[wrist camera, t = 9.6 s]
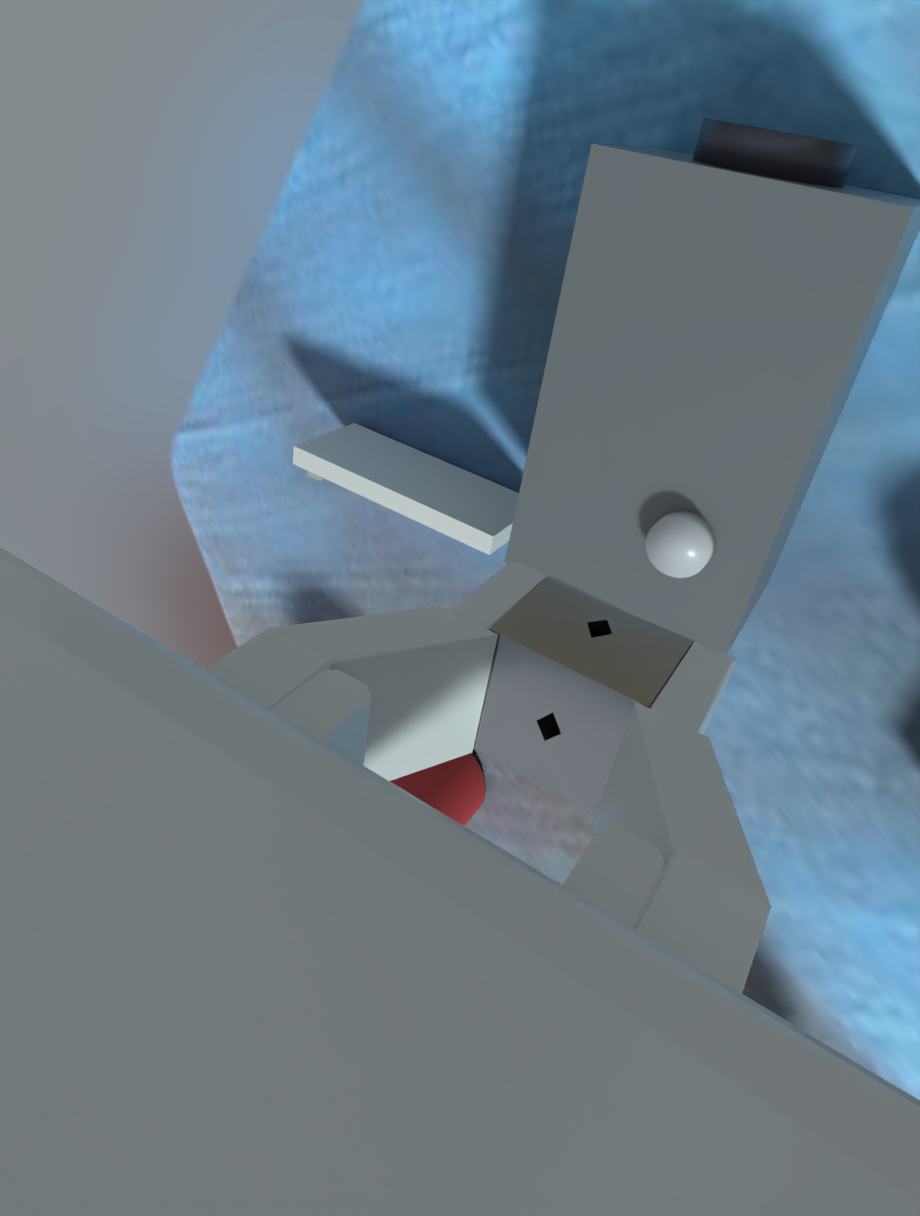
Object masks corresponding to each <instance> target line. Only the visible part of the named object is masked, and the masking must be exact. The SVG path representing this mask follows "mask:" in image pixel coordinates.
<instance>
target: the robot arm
mask: <svg viewBox="0 0 920 1216" xmlns="http://www.w3.org/2000/svg"><path fill="white" fill-rule="evenodd" d="M735 663H736V657H734V656H732V655H729V654H727V653H724V652H722V651H719V650H717V649H714V648H712V647H709V646H707V645H704V644H702V643H699V642H694V640H691V639H689V638H687V637H684V636H682V635H679V634H677V633H675V632H672V631H670V630H667V629H665V628H663V627H660V626H658V625H655V624H653V623H651V622H648V621H646V620H643V619H641V618H639V617H636V616H634V615H632V614H629V613H627V612H624V611H622V610H621V608H618V607H616V606H614V605H612V604H610V603H608V602H606V601H604V600H601V599H599V598H597V597H595V596H593V595H591V594H589V593H587V592H584V591H582V590H580V589H578V588H576V587H574V586H572V585H570V584H567V583H565V582H563V581H561V580H559V579H557V578H555V577H553V576H552V577H550V576H549V574H547V573H544V572H542V571H540V570H538V569H535V568H533V567H531V566H528V565H526V564H524V563H521V562H519V561H512V562H510V563H508V564H507V565H506V566H505V567H503V568H502V569H501V570H500V571H498V572H497V573H496V574H495V575H494V576H492V577H491V578H490V579H489V580H487V581H486V582H485V583H484V584H482V585H481V586H480V587H479V588H478V589H476V590H475V591H474V592H473V593H471V594H470V595H469V596H468V597H466V598H465V599H464V600H463V601H461V602H460V603H459V604H458V605H457V606H455V607H454V608H453V609H452V610H450V611H449V610H447V609H445V608H443V607H441V606H439V607H431V608H423V609H415V610H407V611H399V612H391V613H383V614H375V615H367V616H359V617H351V618H343V619H335V620H327V621H319V622H311V623H303V624H295V625H287V626H279V627H271V628H268V629H266V630H265V631H263V632H262V633H260V634H259V635H257V636H256V637H254V638H252V639H251V640H249V641H248V642H246V643H245V644H243V645H241V646H240V647H238V648H237V649H235V650H234V651H232V652H231V653H229V654H227V655H226V656H224V657H223V658H221V659H220V660H218V661H217V662H215V663H213V664H212V665H210V666H209V667H207V668H206V669H202V668H200V667H199V666H197V665H195V664H194V663H192V662H190V661H188V660H187V659H185V658H184V657H182V656H180V655H179V654H177V653H175V652H174V651H172V650H170V649H169V648H167V647H165V646H164V645H162V644H160V643H159V642H157V641H155V640H154V639H152V638H151V637H149V636H147V635H145V634H144V633H142V632H140V631H139V630H137V629H136V628H134V627H132V626H130V625H129V624H127V623H126V622H124V621H122V620H121V619H119V618H117V617H116V616H114V615H112V614H111V613H109V612H107V611H106V610H104V609H102V608H101V607H99V606H97V605H96V604H94V603H92V602H91V601H89V600H87V599H86V598H84V597H82V596H81V595H79V594H77V593H76V592H74V591H72V590H71V589H69V588H67V587H66V586H64V585H63V584H61V583H59V582H58V581H56V580H54V579H53V578H51V577H49V576H48V575H46V574H44V573H43V572H41V571H39V570H38V569H36V568H34V567H33V566H31V565H29V564H28V563H26V562H24V561H23V560H21V559H19V558H18V557H16V556H15V555H13V554H11V553H10V552H8V551H6V550H4V549H3V548H1V547H0V1216H920V1100H918V1099H916V1098H915V1097H913V1096H911V1095H910V1094H908V1093H906V1092H905V1091H903V1090H901V1089H900V1088H898V1087H896V1086H895V1085H893V1084H891V1083H890V1082H888V1081H886V1080H885V1079H883V1078H881V1077H880V1076H878V1075H876V1074H875V1073H873V1072H871V1071H870V1070H868V1069H866V1068H865V1067H863V1066H861V1065H859V1064H858V1063H856V1062H854V1061H853V1060H851V1059H849V1058H848V1057H846V1056H844V1055H843V1054H841V1053H839V1052H838V1051H836V1050H834V1049H833V1048H831V1047H829V1046H828V1045H826V1044H824V1043H823V1042H821V1041H819V1040H818V1039H816V1038H814V1037H813V1036H811V1035H809V1034H808V1033H806V1032H804V1031H803V1030H801V1029H799V1028H798V1027H796V1026H794V1025H793V1024H791V1023H790V1022H788V1021H786V1020H785V1019H783V1018H781V1017H780V1016H778V1015H776V1014H775V1013H773V1012H771V1011H770V1010H768V1009H766V1008H765V1007H763V1006H761V1005H760V1004H758V1003H756V1002H755V1001H753V1000H751V999H750V998H748V997H746V996H745V995H743V994H742V992H743V989H744V986H745V983H746V980H747V977H748V974H749V971H750V968H751V965H752V962H753V959H754V956H755V953H756V950H757V947H758V944H759V941H760V938H761V935H762V932H763V929H764V926H765V923H766V920H767V917H768V914H769V911H770V908H771V906H770V903H769V900H768V898H767V895H766V892H765V890H764V887H763V884H762V881H761V879H760V876H759V873H758V871H757V868H756V865H755V862H754V860H753V857H752V854H751V852H750V849H749V846H748V843H747V841H746V838H745V835H744V833H743V830H742V827H741V824H740V822H739V819H738V816H737V814H736V811H735V808H734V805H733V803H732V800H731V797H730V795H729V792H728V789H727V787H726V784H725V781H724V778H723V776H722V773H721V770H720V768H719V765H718V762H717V759H716V757H715V754H714V751H713V749H712V746H711V743H710V740H709V738H708V737H707V736H705V735H703V734H704V732H705V730H706V728H707V726H708V723H709V721H710V719H711V717H712V715H713V712H714V710H715V708H716V706H717V704H718V701H719V699H720V697H721V695H722V693H723V690H724V688H725V686H726V684H727V682H728V679H729V677H730V675H731V673H732V670H733V668H734V665H735ZM473 749H474V750H476V751H478V752H480V753H482V754H484V755H486V756H488V757H490V758H492V759H493V760H495V761H497V762H499V763H501V764H503V765H505V766H507V767H509V768H511V769H513V770H514V771H516V772H518V773H520V774H522V775H524V776H526V777H528V778H530V779H532V780H534V781H535V782H537V783H539V784H540V785H542V786H544V787H545V788H547V789H549V790H550V791H552V792H554V793H555V794H557V795H559V796H561V797H562V798H564V799H566V800H567V801H569V802H571V803H572V804H574V805H576V806H578V807H579V808H581V809H583V810H584V811H586V812H588V813H589V814H591V815H593V816H594V818H593V824H594V835H595V836H594V838H593V839H592V841H591V842H590V844H589V845H588V847H587V848H586V850H585V852H584V853H583V855H582V856H581V858H580V859H579V861H578V862H577V864H576V865H575V867H574V868H573V870H572V872H571V873H570V875H569V876H568V878H567V879H566V881H565V882H564V884H563V885H561V884H559V883H558V882H556V881H554V880H553V879H551V878H549V877H548V876H546V875H544V874H543V873H541V872H539V871H538V870H536V869H535V868H533V867H531V866H530V865H528V864H526V863H525V862H523V861H521V860H520V859H518V858H516V857H515V856H513V855H511V854H510V853H508V852H506V851H505V850H503V849H501V848H500V847H498V846H496V845H495V844H493V843H491V842H490V841H488V840H486V839H485V838H483V837H481V836H480V835H478V834H476V833H475V832H473V831H471V830H470V829H468V828H466V827H465V826H463V825H461V824H460V823H458V822H456V821H455V820H453V819H451V818H450V817H448V816H446V815H445V814H443V813H441V812H440V811H438V810H436V809H435V808H433V807H431V806H430V805H428V804H426V803H425V802H423V801H421V800H420V799H418V798H416V797H415V796H413V795H411V794H410V793H408V792H406V791H405V790H403V789H401V788H400V787H398V786H396V785H395V784H393V783H391V782H390V781H391V780H394V779H397V778H400V777H403V776H406V775H409V774H412V773H414V772H417V771H420V770H423V769H426V768H429V767H432V766H435V765H438V764H440V763H443V762H446V761H449V760H452V759H455V758H458V757H461V756H464V755H466V754H469V753H472V752H473Z"/></svg>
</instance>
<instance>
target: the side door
mask: <svg viewBox="0 0 920 1216" xmlns="http://www.w3.org/2000/svg"><path fill="white" fill-rule="evenodd" d="M293 464H294V465H297V466H299V467H301V468H303V469H305V470H307V471H308V475H307V476H309V477H312V478H314V479H316V480H318V481H321V480H323V479H327V480H329V481H331V482H333V483H335V484H338V485H340V486H342V487H344V488H346V489H348V490H350V491H353V492H355V493H357V494H359V495H361V496H363V497H366V498H368V499H370V500H372V501H374V502H376V503H378V504H381V505H383V506H385V507H387V508H389V509H391V510H394V511H396V512H398V513H400V514H402V515H404V516H406V517H409V518H411V519H413V520H415V521H417V522H419V523H422V524H424V525H426V526H428V527H430V528H432V529H434V530H437V531H439V532H441V533H443V534H445V535H447V536H450V537H452V538H454V539H456V540H458V541H460V542H462V543H465V544H467V545H469V546H471V547H473V548H475V549H478V550H480V551H482V552H484V553H486V554H488V555H490V554H491V553H493V552H494V551H495V550H497V549H498V548H499V547H501V546H502V545H503V544H505V543H506V542H508V541H509V539H510V534H511V529H512V524H513V520H514V515H515V510H516V505H517V500H518V495H519V493H518V492H515V491H513V490H511V489H508V488H506V487H503V486H501V485H499V484H496V483H494V482H492V481H489V480H487V479H485V478H482V477H480V476H478V475H475V474H473V473H471V472H468V471H466V470H464V469H461V468H459V467H457V466H454V465H452V464H449V463H447V462H445V461H442V460H440V459H438V458H435V457H433V456H431V455H428V454H426V453H424V452H421V451H419V450H417V449H414V448H412V447H410V446H407V445H405V444H402V443H400V442H398V441H395V440H393V439H391V438H388V437H386V436H384V435H381V434H379V433H377V432H374V431H372V430H370V429H367V428H365V427H363V426H360V425H358V424H356V423H353V424H350V425H347V426H345V427H342V428H340V429H337V430H334V431H332V432H329V433H327V434H324V435H321V436H319V437H316V438H314V439H311V440H308V441H306V442H303V443H301V444H298V445H295V446H294V454H293Z"/></svg>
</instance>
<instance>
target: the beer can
mask: <svg viewBox="0 0 920 1216" xmlns="http://www.w3.org/2000/svg"><path fill="white" fill-rule="evenodd" d="M390 782H391V783H393V784H395V785H396V786H398V787H400V788H401V789H403V790H405V791H406V792H408V793H410V794H411V795H413V796H415V797H416V798H418V799H420V800H421V801H423V802H425V803H426V804H428V805H430V806H431V807H433V808H435V809H436V810H438V811H440V812H441V813H443V814H445V815H446V816H448V817H450V818H451V819H453V820H455V821H456V822H458V823H460V824H461V825H463V826H465V824H466V823H467V822H468V821H469V820H470V818H471V817H472V816H473V815H474V814H475V812H476V811H477V810H478V809H479V807H480V806H481V804H482V803H483V801H484V797H485V791H486V784H485V779H484V774H483V771H482V769H481V767H480V765H479V763H478V761H477V759H476V758H475V757H474V756H473V754H472V753H469V754H466V755H464V756H461V757H458V758H455V759H452V760H449V761H446V762H443V763H440V764H438V765H435V766H432V767H429V768H426V769H423V770H420V771H417V772H414V773H412V774H409V775H406V776H403V777H400V778H397V779H394V780H391V781H390Z"/></svg>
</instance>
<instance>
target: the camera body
mask: <svg viewBox="0 0 920 1216" xmlns="http://www.w3.org/2000/svg"><path fill="white" fill-rule="evenodd" d="M858 147H859V146H857V145H851V144H845V143H840V142H834V141H829V140H823V139H817V138H812V137H806V136H800V135H795V134H789V133H783V132H778V131H772V130H766V129H761V128H755V127H749V126H744V125H738V124H732V123H727V122H721V121H715V120H709V119H703V123H702V127H701V130H700V134H699V138H698V142H697V145H696V149H695V153H694V155H692V154H687V153H682V152H677V151H672V150H667V149H662V148H648V147H634V146H620V145H607V144H593V143H591V148H590V153H589V157H588V162H587V167H586V172H585V177H584V182H583V186H582V191H581V196H580V201H579V206H578V211H577V215H576V220H575V225H574V230H573V235H572V239H571V244H570V249H569V254H568V259H567V264H566V268H565V273H564V278H563V283H562V288H561V293H560V297H559V302H558V307H557V312H556V317H555V322H554V326H553V331H552V336H551V341H550V346H549V351H548V355H547V360H546V365H545V370H544V375H543V380H542V384H541V389H540V394H539V399H538V404H537V409H536V413H535V418H534V423H533V428H532V433H531V438H530V442H529V447H528V452H527V457H526V462H525V467H524V471H523V476H522V481H521V486H520V491H519V495H518V500H517V505H516V510H515V515H514V520H513V524H512V529H511V534H510V539H509V544H508V549H507V553H506V558H505V562H507V563H510V562H512V561H519V562H521V563H524V564H526V565H528V566H531V567H533V568H535V569H538V570H540V571H542V572H544V573H547V574H549V576H550V577H552V576H553V577H555V578H557V579H559V580H561V581H563V582H565V583H567V584H570V585H572V586H574V587H576V588H578V589H580V590H582V591H584V592H587V593H589V594H591V595H593V596H595V597H597V598H599V599H601V600H604V601H606V602H608V603H610V604H612V605H614V606H616V607H618V608H621V610H622V611H624V612H627V613H629V614H632V615H634V616H636V617H639V618H641V619H643V620H646V621H648V622H651V623H653V624H655V625H658V626H660V627H663V628H665V629H667V630H670V631H672V632H675V633H677V634H679V635H682V636H684V637H687V638H689V639H691V640H694V642H699V643H702V644H704V645H707V646H709V647H712V648H714V649H717V650H719V651H722V652H724V653H728V651H729V649H730V648H731V646H732V644H733V643H734V641H735V639H736V637H737V636H738V634H739V632H740V630H741V629H742V627H743V625H744V624H745V622H746V620H747V618H748V617H749V615H750V613H751V611H752V610H753V608H754V606H755V605H756V603H757V601H758V599H759V598H760V596H761V594H762V592H763V591H764V589H765V587H766V585H767V583H768V580H769V578H770V576H771V573H772V571H773V569H774V566H775V564H776V562H777V559H778V557H779V555H780V552H781V550H782V548H783V546H784V543H785V541H786V539H787V536H788V534H789V532H790V529H791V527H792V525H793V522H794V520H795V518H796V515H797V513H798V511H799V508H800V506H801V504H802V501H803V499H804V497H805V494H806V492H807V490H808V487H809V485H810V483H811V480H812V478H813V476H814V473H815V471H816V469H817V466H818V464H819V462H820V459H821V457H822V455H823V452H824V450H825V448H826V445H827V443H828V441H829V438H830V436H831V434H832V432H833V429H834V427H835V425H836V422H837V420H838V418H839V415H840V413H841V411H842V408H843V406H844V404H845V401H846V399H847V397H848V394H849V392H850V390H851V387H852V385H853V383H854V380H855V378H856V376H857V373H858V371H859V369H860V366H861V364H862V362H863V359H864V357H865V355H866V352H867V350H868V348H869V345H870V343H871V341H872V338H873V336H874V334H875V331H876V329H877V327H878V324H879V322H880V320H881V318H882V315H883V313H884V311H885V308H886V306H887V304H888V301H889V299H890V297H891V294H892V292H893V290H894V287H895V285H896V283H897V280H898V278H899V276H900V273H901V271H902V269H903V266H904V264H905V262H906V259H907V257H908V255H909V252H910V250H911V248H912V245H913V243H914V241H915V238H916V236H917V234H918V231H919V229H920V199H918V198H913V197H908V196H903V195H898V194H893V193H887V192H882V191H877V190H872V189H867V188H862V187H857V186H852V185H846V184H845V182H846V179H847V176H848V174H849V171H850V168H851V165H852V163H853V160H854V157H855V155H856V152H857V149H858Z"/></svg>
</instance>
